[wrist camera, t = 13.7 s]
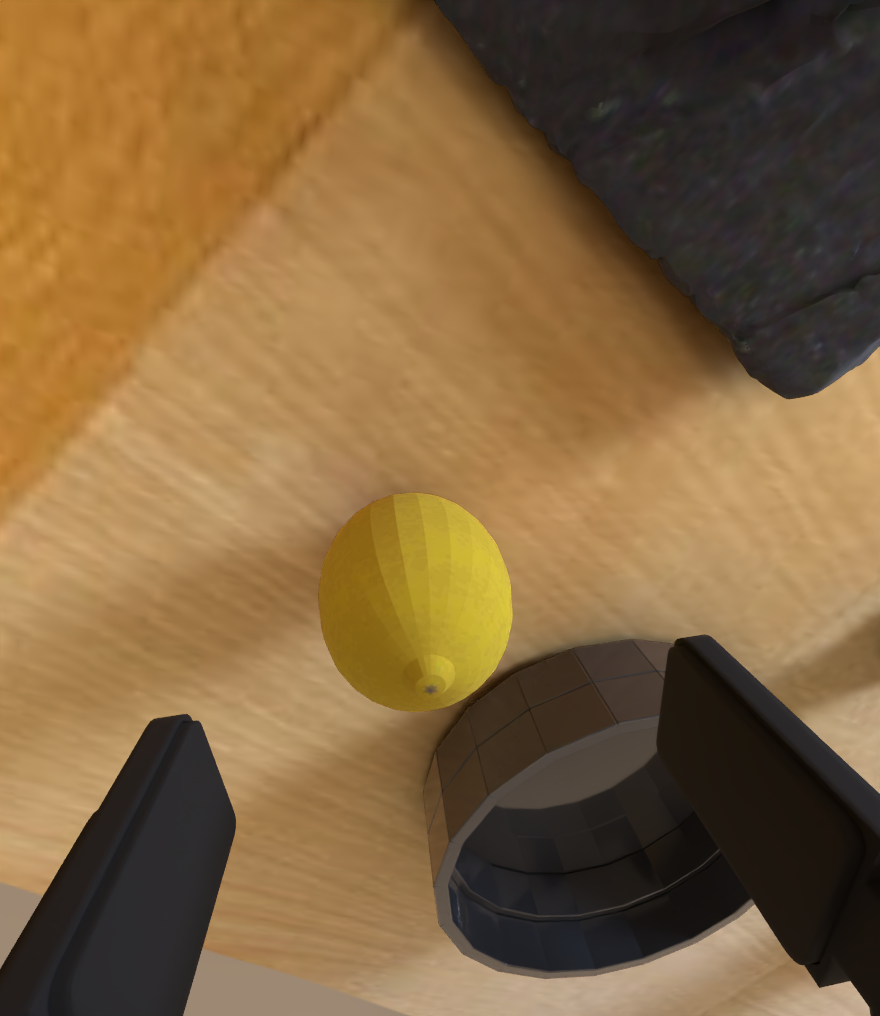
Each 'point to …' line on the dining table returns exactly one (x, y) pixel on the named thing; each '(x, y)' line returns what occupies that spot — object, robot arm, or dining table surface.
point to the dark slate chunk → (719, 154)
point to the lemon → (415, 602)
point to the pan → (571, 823)
